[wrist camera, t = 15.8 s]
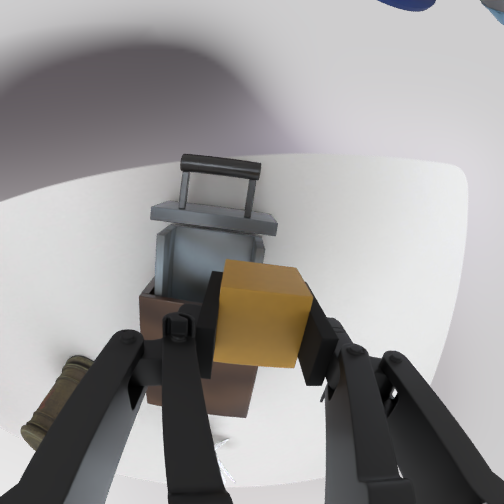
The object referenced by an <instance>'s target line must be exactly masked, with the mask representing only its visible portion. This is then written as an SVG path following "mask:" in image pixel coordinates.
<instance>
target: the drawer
mask: <svg viewBox="0 0 504 504" xmlns="http://www.w3.org/2000/svg"><path fill="white" fill-rule="evenodd" d="M180 168H181V171H183V174H182V182H181V190H180V198H179V202H176V201H166V202H163V203H160V204H157V205H155V206H152V207H151V217H150V219H151V220H158V221H166V222H174V223H182V224H190V225H197V226H205V227H213V228H220V229H227V230H235V231H242V232H249V233H256V234H263V235H270V236H276V231H277V226H278V223H277V222H276V220H275V219H274V218H273V216H272V215H271V214H267V213H260V212H253V211H252V205H253V199H254V192H255V186H256V180H257V181H258V180H259V177H260V171H261V163H257V162H250V161H243V160H236V159H228V158H220V157H212V156H202V155H192V154H183V156H182V158H181V164H180ZM190 172H196V173H205V174H213V175H222V176H229V177H237V178H244V179H250V180H249V186H248V192H247V199H246V205H245V210H239V209H232V208H225V207H217V206H209V205H201V204H193V203H186V202H187V193H188V185H189V178H190ZM264 253H265V247H264V244H263V241H262V237H261V236H256V235H249V234H242V233H235V232H228V231H220V230H213V229H205V228H198V227H190V226H182V225H174V224H171V225H169V226H168V227H166V228H165V229H164V230H162V231H161V232H160V233H158V234H157V242H156V262H155V295H156V296H162V297H168V298H174V299H180V300H187V301H193V302H200V303H203V300H204V297H205V293H206V290H207V286H208V283H209V279H210V276H211V272H212V271H219V272H223V271H224V266H225V261H226V259H231V260H238V261H246V262H254V263H262V264H263V259H264Z"/></svg>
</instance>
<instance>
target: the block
mask: <svg viewBox="0 0 504 504" xmlns="http://www.w3.org/2000/svg"><path fill="white" fill-rule="evenodd" d="M312 301H313V295H312V294H311V292H310V290H309V289H308V287H307V285H306V283H305V282H304V280H303V278H302V277H301V275H300V273H299V271H298V270H297V268H294V267H286V266H278V265H270V264H262V263H254V262H246V261H238V260H231V259H226V261H225V266H224V271H223V277H222V282H221V288H220V297H219V311H218V321H217V331H216V341H215V350H214V358H213V361H214V362H222V363H231V364H240V365H251V366H264V367H279V368H294V367H295V364H296V360H297V357H298V353H299V349H300V346H301V342H302V338H303V335H304V331H305V327H306V324H307V320H308V316H309V312H310V309H311V305H312Z"/></svg>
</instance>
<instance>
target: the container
mask: <svg viewBox="0 0 504 504" xmlns="http://www.w3.org/2000/svg"><path fill="white" fill-rule="evenodd" d="M92 364H93V361H91V360H89V359H87V358H85V357H81V356H74V357H71V358H70V359H68V360H67V362H66V364H65V366H64V367H63V369H62V374H61V375H60V376H59V377H58V378H57V380H56V383H55V384H54V386H53V387H52V389H51V390H50V391H49V393H48V394H47V396H46V397H45V398H44V400H43V401H42V403H41V404H40V406H39V408H38V409H37V410H36V411H35V412H34V413H33V417H32V419H31V420H30V421H29V422H27V423H26V425H23V426H22V427H21V435H22V437H23V438H24V440H25V441H26V442H27V443H28V444H29V445H30V446H31V447H32V448H33V449H34V450H35V451H36V450H37V448H38V447H39V445H40V443H41V442H42V440H43V438H44V437H45V435H46V433H47V432H48V430H49V428H50V427H51V425H52V424H53V422H54V420H55V419H56V417H57V416H58V414H59V413H60V411H61V409H62V408H63V406H64V405H65V403H66V402H67V400H68V399H69V397H70V396H71V394H72V393H73V391H74V390H75V388H76V387H77V385H78V384H79V382H80V381H81V379H82V378H83V377H84V375H85V374H86V372H87V371H88V369H89V368H90V367H91V365H92Z"/></svg>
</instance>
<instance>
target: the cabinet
mask: <svg viewBox="0 0 504 504" xmlns="http://www.w3.org/2000/svg"><path fill="white" fill-rule="evenodd" d="M185 303H188V304H195V305H202V304H203V303H200V302H193V301H187V300H180V299H174V298H168V297H162V296H156V295H155V277H154V278H153V279H152V280H151V281H150V283H149V284H148V285H147V287H146V288H145V289H144V290H143V292H142V293H141V294H140V296H139V309H140V332H141V334H142V335H143V337H144V340H157V339H161V338H163V334H162V319H163V317H164V316H165V315H166V314H168V313H172V312H178V310H179V307H180V306H182V305H183V304H185ZM257 369H258V366H251V365H240V364H231V363H222V362H214V361H213V365H212V373H211V379H204V378H201V382H202V388H203V394H204V399H205V404H206V410H207V414H211V415H219V416H229V417H240V418H246V417H247V413H248V409H249V404H250V400H251V396H252V392H253V387H254V383H255V378H256V374H257ZM146 395H147V402H148V404H153V405H157V406H162V386H148V388H147V391H146Z"/></svg>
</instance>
